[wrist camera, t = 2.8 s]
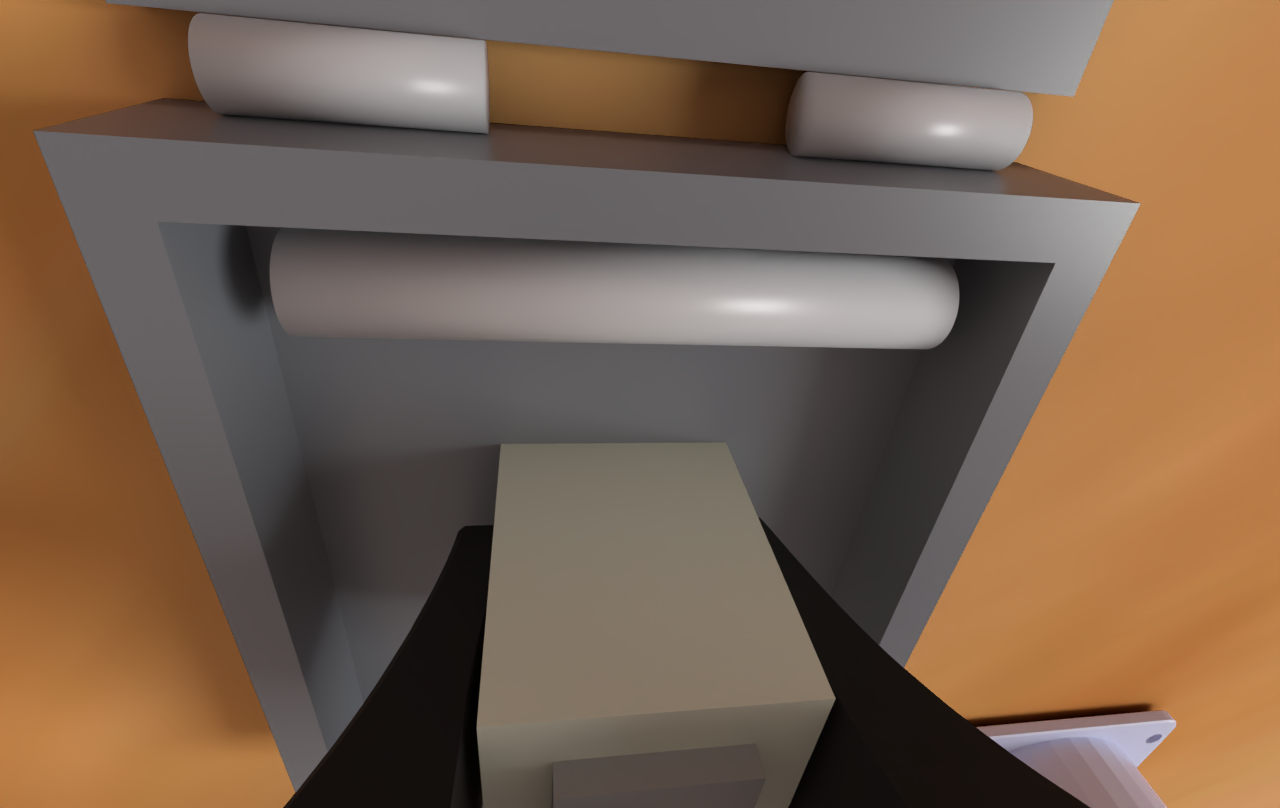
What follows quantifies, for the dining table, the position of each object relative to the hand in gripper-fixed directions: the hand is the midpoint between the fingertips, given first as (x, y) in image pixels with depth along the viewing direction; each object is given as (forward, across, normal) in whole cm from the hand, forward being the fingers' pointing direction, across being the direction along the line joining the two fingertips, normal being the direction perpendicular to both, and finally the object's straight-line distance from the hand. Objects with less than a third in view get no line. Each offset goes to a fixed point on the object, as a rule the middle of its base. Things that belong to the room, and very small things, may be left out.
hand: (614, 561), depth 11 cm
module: (+1, 0, 0) cm, 1 cm away
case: (+1, 0, 0) cm, 1 cm away
